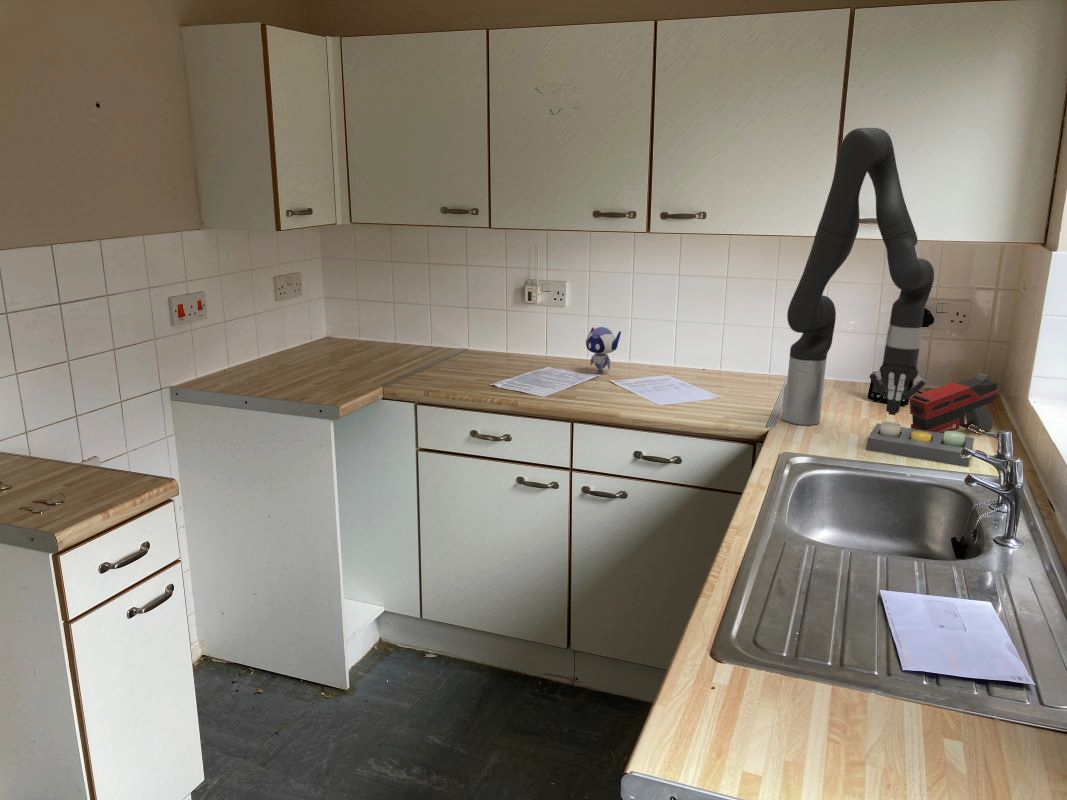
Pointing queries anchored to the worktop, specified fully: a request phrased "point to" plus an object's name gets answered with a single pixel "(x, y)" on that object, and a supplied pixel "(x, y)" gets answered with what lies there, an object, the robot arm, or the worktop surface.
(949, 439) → the button sage
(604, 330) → the toy
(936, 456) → the panel
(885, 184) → the robot arm
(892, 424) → the button ivory
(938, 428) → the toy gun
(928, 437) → the button amber
